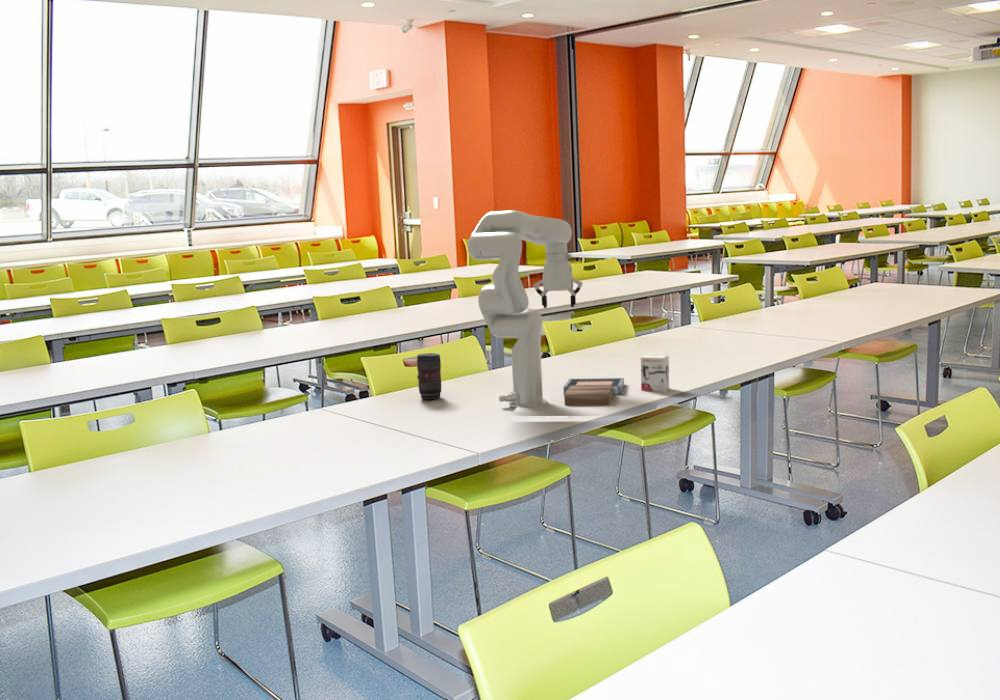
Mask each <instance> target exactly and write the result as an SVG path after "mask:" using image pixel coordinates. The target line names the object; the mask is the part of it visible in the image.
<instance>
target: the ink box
mask: <svg viewBox="0 0 1000 700" xmlns="http://www.w3.org/2000/svg"><path fill="white" fill-rule="evenodd" d="M640 381H641V382H640V386H641V388H640V389H641V390H640V391H646V392H647V391H648V392H664V393H665V392H667V391H668V390H669V389H670V358H669V355H666V354H664V355H663V354H644V355H642V356H641V357H640Z"/></svg>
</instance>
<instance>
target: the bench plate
mask: <svg viewBox="0 0 1000 700" xmlns="http://www.w3.org/2000/svg"><path fill="white" fill-rule="evenodd" d="M613 386H614V385H571V386H570V387H569V388H568V390H567V391H566V393H565V394H564V393H563V397H564V405H565V406H598V405H599V406H608V405H610V403H611V401H612V400H613V396H614V395H613Z"/></svg>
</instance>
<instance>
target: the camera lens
mask: <svg viewBox="0 0 1000 700" xmlns="http://www.w3.org/2000/svg"><path fill="white" fill-rule="evenodd" d="M441 366H442V363H441V355H440V354H439V353H419V354H417V357H416V367H417V376H416V377H417V380H418V382H417V383H418V384H417V385H418V390H419V394H420V398H421V399H423V400H433V399H438V398H441V393H442V375H441V374H442V372H441V368H442V367H441Z"/></svg>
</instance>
